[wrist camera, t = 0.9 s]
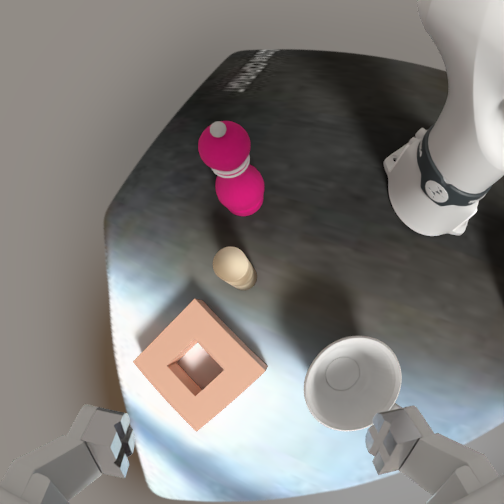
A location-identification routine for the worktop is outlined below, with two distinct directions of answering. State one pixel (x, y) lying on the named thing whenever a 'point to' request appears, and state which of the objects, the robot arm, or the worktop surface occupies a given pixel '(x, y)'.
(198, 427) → the socket block
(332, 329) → the worktop surface
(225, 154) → the pepper mill
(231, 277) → the maple pin
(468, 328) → the worktop surface
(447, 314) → the worktop surface
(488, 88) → the robot arm
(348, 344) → the teacup
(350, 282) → the worktop surface
